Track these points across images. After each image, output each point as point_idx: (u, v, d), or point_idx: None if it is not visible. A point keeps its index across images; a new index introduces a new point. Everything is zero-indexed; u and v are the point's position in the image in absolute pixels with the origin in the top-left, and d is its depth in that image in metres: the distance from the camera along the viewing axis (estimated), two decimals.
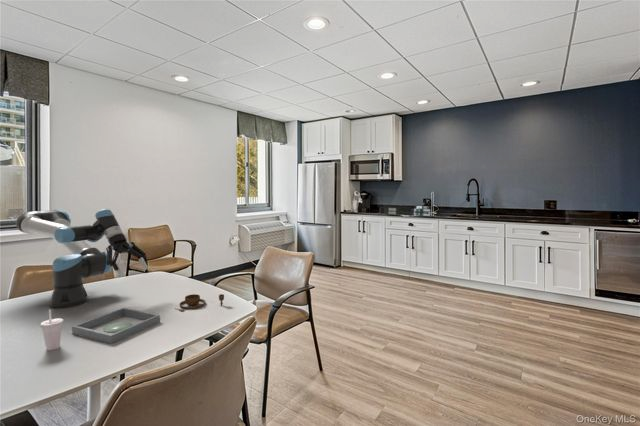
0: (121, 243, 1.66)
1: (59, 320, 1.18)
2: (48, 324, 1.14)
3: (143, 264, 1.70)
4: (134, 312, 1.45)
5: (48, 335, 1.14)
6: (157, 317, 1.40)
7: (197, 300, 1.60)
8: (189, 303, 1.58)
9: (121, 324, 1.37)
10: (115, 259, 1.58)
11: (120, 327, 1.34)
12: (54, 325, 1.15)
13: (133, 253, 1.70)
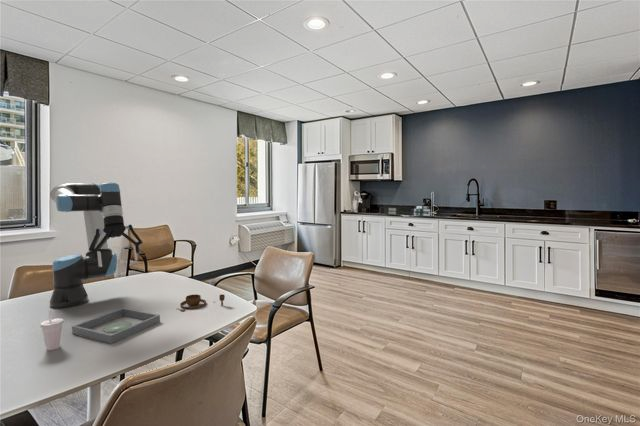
0: (114, 226, 1.45)
1: (59, 320, 1.18)
2: (48, 324, 1.14)
3: None
4: (134, 312, 1.45)
5: (48, 335, 1.14)
6: (157, 317, 1.40)
7: (198, 300, 1.60)
8: (190, 303, 1.58)
9: (121, 324, 1.37)
10: (97, 247, 1.41)
11: (120, 327, 1.34)
12: (54, 325, 1.15)
13: None
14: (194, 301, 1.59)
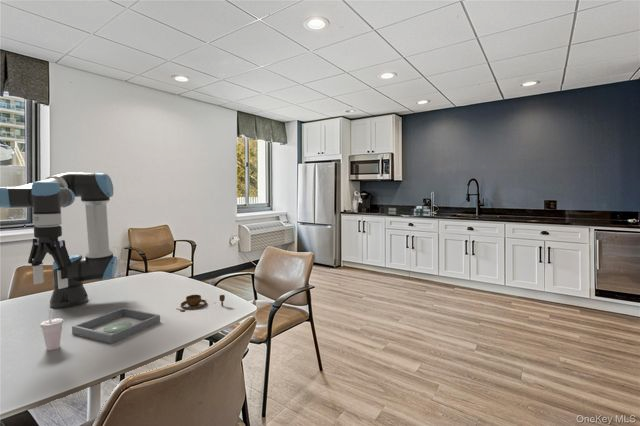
0: (45, 240, 1.14)
1: (59, 320, 1.18)
2: (48, 324, 1.14)
3: None
4: (134, 312, 1.45)
5: (48, 335, 1.14)
6: (157, 317, 1.40)
7: (198, 300, 1.60)
8: (190, 303, 1.58)
9: (121, 324, 1.37)
10: (33, 261, 1.17)
11: (120, 327, 1.34)
12: (54, 325, 1.15)
13: None
14: (194, 301, 1.58)
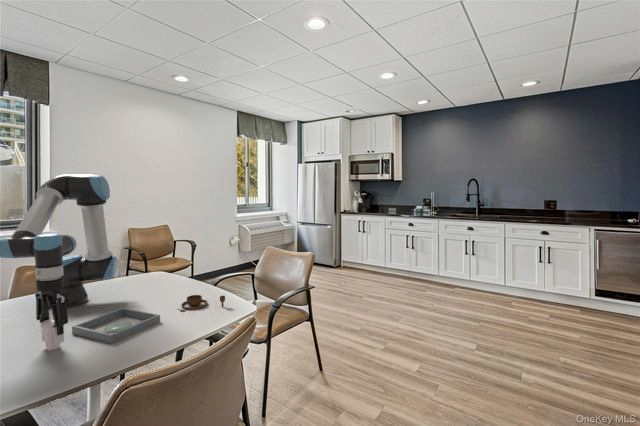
0: (47, 292, 1.15)
1: None
2: (48, 324, 1.14)
3: None
4: (134, 312, 1.45)
5: (48, 335, 1.14)
6: (157, 317, 1.40)
7: (198, 301, 1.59)
8: (190, 304, 1.58)
9: (121, 324, 1.37)
10: (41, 317, 1.17)
11: (120, 327, 1.34)
12: (54, 325, 1.15)
13: None
14: (195, 302, 1.58)
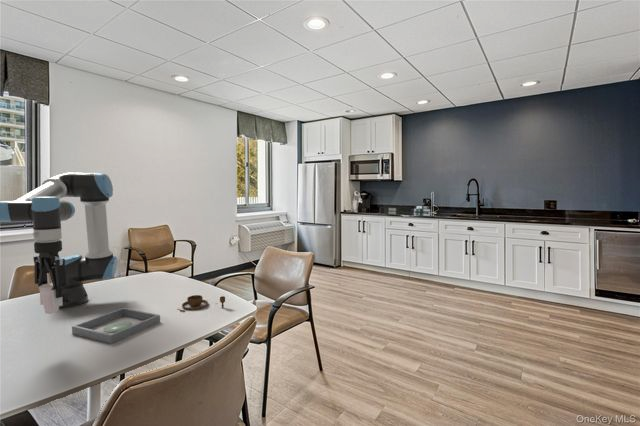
0: (45, 255, 1.14)
1: None
2: (46, 287, 1.14)
3: None
4: (134, 312, 1.45)
5: (46, 298, 1.14)
6: (157, 317, 1.40)
7: (199, 301, 1.59)
8: (191, 304, 1.57)
9: (121, 324, 1.37)
10: (39, 280, 1.16)
11: (120, 327, 1.34)
12: None
13: None
14: (195, 302, 1.57)
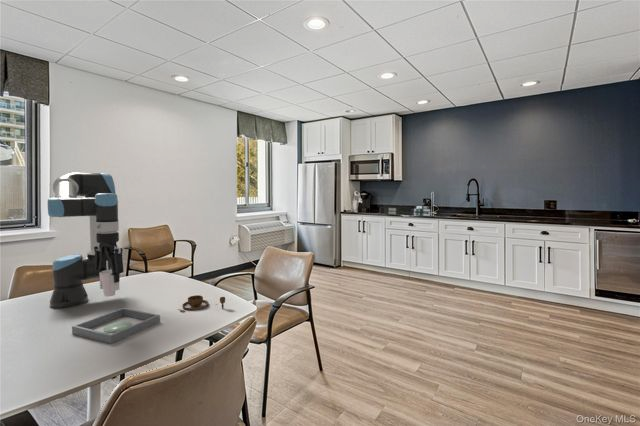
0: (105, 244, 1.29)
1: None
2: (106, 273, 1.29)
3: None
4: (134, 312, 1.45)
5: (106, 282, 1.29)
6: (157, 317, 1.40)
7: (199, 301, 1.58)
8: (191, 304, 1.57)
9: (121, 324, 1.37)
10: (99, 267, 1.31)
11: (120, 327, 1.34)
12: None
13: None
14: (195, 302, 1.57)
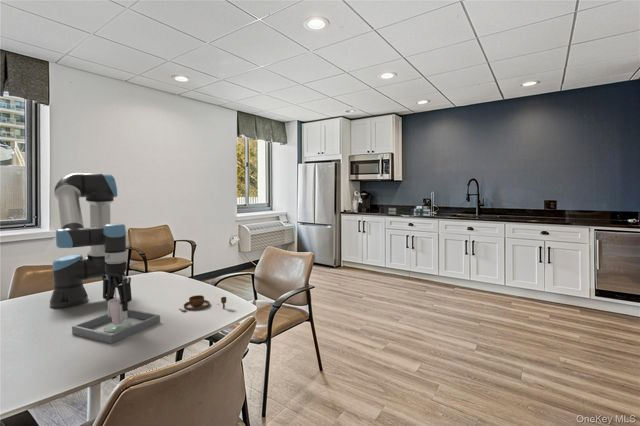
0: (114, 274, 1.32)
1: None
2: (115, 302, 1.32)
3: None
4: (134, 312, 1.45)
5: (114, 311, 1.32)
6: (157, 317, 1.40)
7: (200, 301, 1.58)
8: (192, 304, 1.57)
9: (121, 324, 1.37)
10: (107, 296, 1.34)
11: (120, 327, 1.34)
12: None
13: None
14: (196, 302, 1.57)
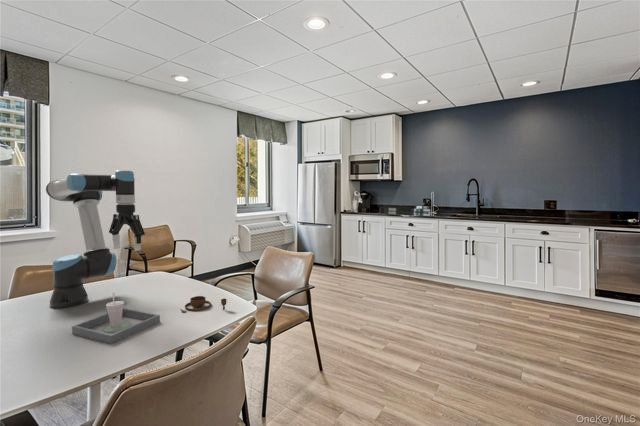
0: (124, 214, 1.51)
1: (121, 302, 1.36)
2: (113, 305, 1.33)
3: None
4: (134, 312, 1.45)
5: (112, 314, 1.33)
6: (157, 317, 1.40)
7: (201, 302, 1.57)
8: (193, 305, 1.56)
9: (121, 324, 1.37)
10: (113, 231, 1.54)
11: (120, 327, 1.34)
12: (118, 306, 1.33)
13: None
14: (197, 303, 1.56)
